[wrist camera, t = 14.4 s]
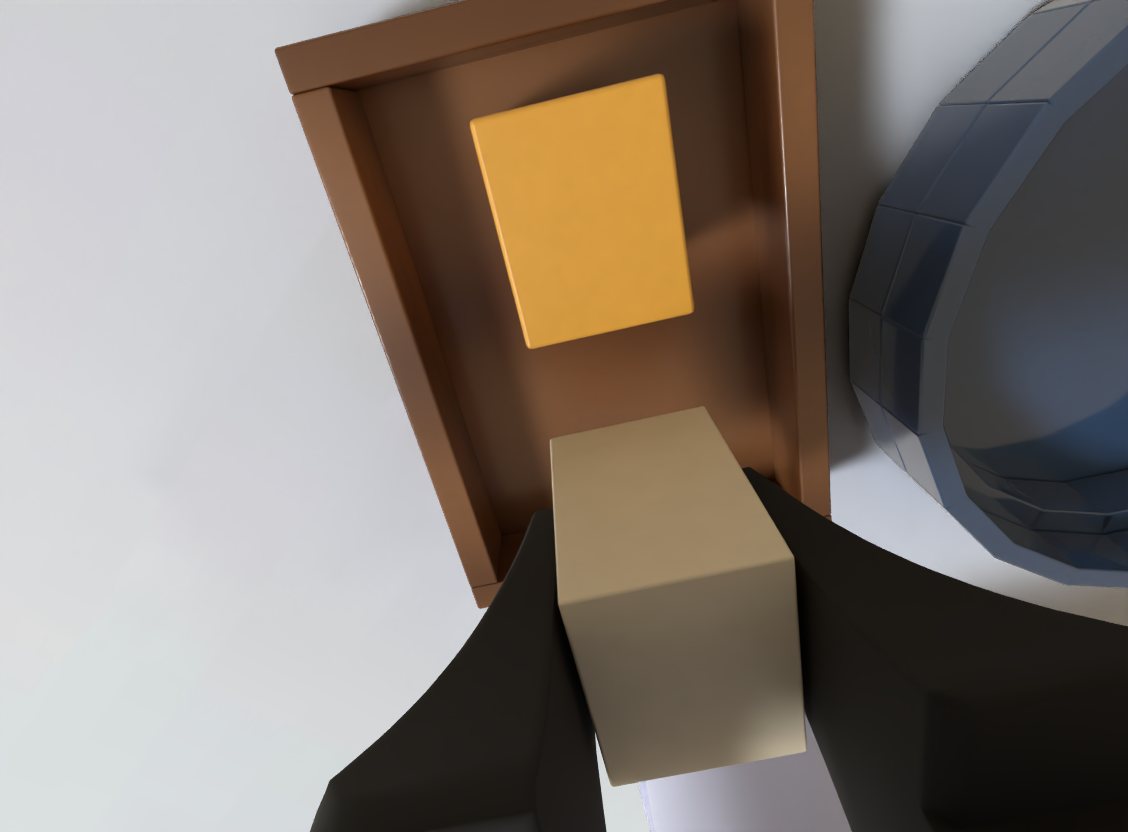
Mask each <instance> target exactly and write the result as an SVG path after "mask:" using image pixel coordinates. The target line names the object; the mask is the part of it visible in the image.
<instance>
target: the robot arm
mask: <svg viewBox="0 0 1128 832" xmlns="http://www.w3.org/2000/svg"><path fill="white" fill-rule="evenodd" d="M741 469H742V470H743V472H744V474H745V475H746V477H747V479H748V480H749V482H750V484H751V485H752V487H753V489H754V490H755V492H756V494H757V496H758V497H759V499H760V501H761V502H762V504H763V506H764V507H765V509H766V511H767V512H768V514H769V516H770V517H771V519H772V521H773V522H774V524H775V526H776V527H777V529H778V531H779V532H780V534H781V536H782V537H783V539H784V541H785V542H786V544H787V546H788V547H789V549H790V551H791V552H792V554H793V556H794V559H795V574H796V589H797V604H798V619H799V634H800V649H801V664H802V679H803V694H804V709H805V724H806V739H807V751H805V752H802V753H796V754H791V755H785V756H780V757H774V758H769V759H763V760H758V761H752V762H747V763H741V764H736V765H730V766H725V767H719V768H714V769H708V770H703V771H697V772H692V773H686V774H681V775H675V776H670V777H664V778H659V779H654V780H648V781H643V782H638V786H639V790H640V794H641V798H642V801H643V805H644V809H645V813H646V817H647V821H648V825H649V828H650V832H1128V626H1123V625H1119V624H1115V623H1110V622H1106V621H1101V620H1097V619H1093V618H1088V617H1084V616H1080V615H1075V614H1071V613H1066V612H1062V611H1058V610H1054V609H1050V608H1046V607H1042V606H1039V605H1036V604H1032V603H1029V602H1025V601H1022V600H1018V599H1015V598H1011V597H1008V596H1004V595H1001V594H998V593H995V592H992V591H989V590H986V589H982V588H979V587H976V586H973V585H971V584H968V583H965V582H962V581H960V580H957V579H954V578H952V577H949V576H946V575H943V574H941V573H938V572H935V571H933V570H930V569H928V568H925V567H923V566H920V565H918V564H916V563H913V562H911V561H909V560H907V559H904V558H902V557H900V556H898V555H896V554H893V553H891V552H889V551H887V550H885V549H882V548H880V547H878V546H876V545H874V544H872V543H870V542H868V541H866V540H864V539H862V538H861V537H859V536H857V535H855V534H853V533H852V532H850V531H848V530H846V529H844V528H843V527H841V526H839V525H837V524H835V523H834V522H832V521H830V520H829V519H827V518H825V517H824V516H822V515H821V514H819V513H817V512H816V511H814V510H813V509H811V508H810V507H808V506H806V505H805V504H803V503H802V502H800V501H799V500H797V499H796V498H794V497H793V496H791V495H790V494H788V493H787V492H786V491H784V490H783V489H781V488H780V487H778V486H777V485H776V484H774V483H773V482H771V481H770V480H768V479H767V478H766V477H764V476H763V475H761V474H760V473H758V472H757V471H755V470H754V469H753V468H751V467H746V468H741ZM310 832H606V825H605V817H604V810H603V802H602V794H601V786H600V778H599V770H598V762H597V754H596V740H595V729H594V726H593V723H592V719H591V716H590V712H589V709H588V705H587V702H586V698H585V695H584V692H583V688H582V685H581V681H580V678H579V674H578V671H577V667H576V664H575V661H574V657H573V654H572V650H571V647H570V643H569V640H568V636H567V633H566V630H565V626H564V623H563V619H562V616H561V612H560V609H559V605H558V591H557V571H556V551H555V531H554V512H553V508H548V509H543V510H539V511H536V512H535V513H534V515H533V516H532V518H531V521H530V524H529V526H528V529H527V531H526V534H525V536H524V539H523V541H522V543H521V546H520V548H519V550H518V553H517V555H516V557H515V559H514V561H513V563H512V565H511V567H510V569H509V571H508V573H507V575H506V577H505V579H504V581H503V583H502V585H501V587H500V588H499V590H498V592H497V594H496V595H495V597H494V599H493V601H492V602H491V604H490V606H489V608H488V609H487V611H486V613H485V614H484V616H483V618H482V619H481V621H480V622H479V624H478V625H477V627H476V628H475V630H474V631H473V633H472V634H471V636H470V637H469V639H468V640H467V641H466V643H465V644H464V646H463V647H462V648H461V650H460V651H459V653H458V654H457V655H456V656H455V658H454V659H453V660H452V661H451V663H450V664H449V665H448V666H447V668H446V669H445V670H444V671H443V672H442V674H441V675H440V676H439V677H438V678H437V680H436V681H435V682H434V683H433V684H432V685H431V687H430V688H429V689H428V690H427V691H426V692H425V693H424V694H423V695H422V697H421V698H420V699H419V700H418V701H417V702H416V703H415V704H414V705H413V706H412V707H411V708H410V709H409V710H408V711H407V712H406V713H405V714H404V715H403V716H402V717H401V718H400V719H399V720H398V721H397V722H396V723H395V724H394V725H393V726H392V727H391V728H390V729H389V730H388V731H387V732H386V733H384V734H383V735H382V736H381V737H380V738H379V739H378V740H377V741H376V742H374V743H373V744H372V745H371V746H370V747H369V748H368V749H366V750H365V751H364V752H363V753H362V754H361V755H359V756H358V757H357V758H356V759H355V760H354V761H352V762H351V763H350V764H349V765H348V766H347V767H345V768H344V769H343V770H342V771H341V772H340V773H338V774H337V775H336V776H335V777H333V778H332V779H331V780H330V781H329V784H328V787H327V789H326V792H325V794H324V796H323V799H322V801H321V803H320V806H319V808H318V810H317V813H316V816H315V819H314V822H313V824H312V827H311V830H310Z"/></svg>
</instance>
